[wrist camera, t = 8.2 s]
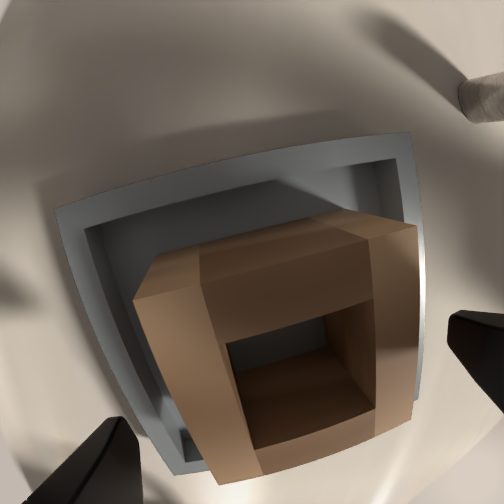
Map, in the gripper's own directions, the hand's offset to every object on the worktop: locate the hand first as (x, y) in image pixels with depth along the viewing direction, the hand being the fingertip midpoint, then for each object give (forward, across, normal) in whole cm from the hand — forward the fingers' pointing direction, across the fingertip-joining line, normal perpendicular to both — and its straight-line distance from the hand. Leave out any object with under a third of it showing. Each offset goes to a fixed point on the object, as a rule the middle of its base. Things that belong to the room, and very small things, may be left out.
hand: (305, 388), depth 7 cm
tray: (+5, 0, 0) cm, 5 cm away
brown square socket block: (+4, 0, 0) cm, 4 cm away
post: (+5, -12, -7) cm, 15 cm away
